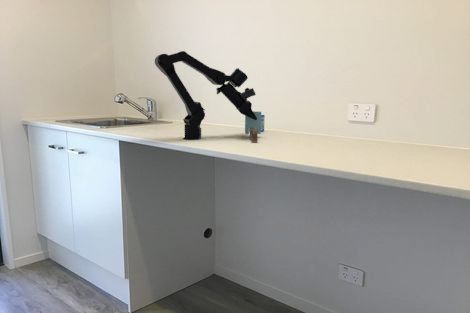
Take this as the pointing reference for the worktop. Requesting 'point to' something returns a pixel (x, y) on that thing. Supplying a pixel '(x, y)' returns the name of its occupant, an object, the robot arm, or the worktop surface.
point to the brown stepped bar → (253, 135)
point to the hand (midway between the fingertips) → (256, 119)
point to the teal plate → (253, 123)
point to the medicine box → (261, 123)
